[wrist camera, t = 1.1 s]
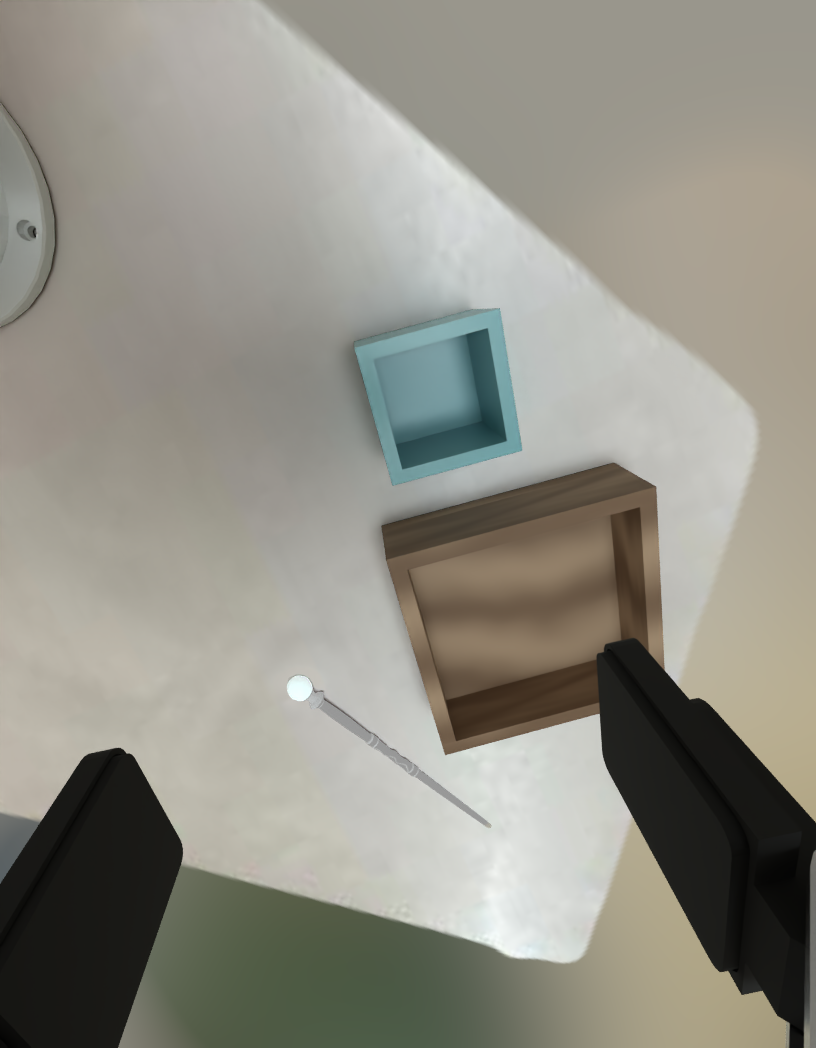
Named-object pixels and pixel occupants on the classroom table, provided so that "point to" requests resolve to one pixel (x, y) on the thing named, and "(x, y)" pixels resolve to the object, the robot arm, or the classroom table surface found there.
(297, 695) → the magic wand
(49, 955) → the robot arm
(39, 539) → the classroom table surface
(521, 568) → the big crate
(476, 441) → the small crate
